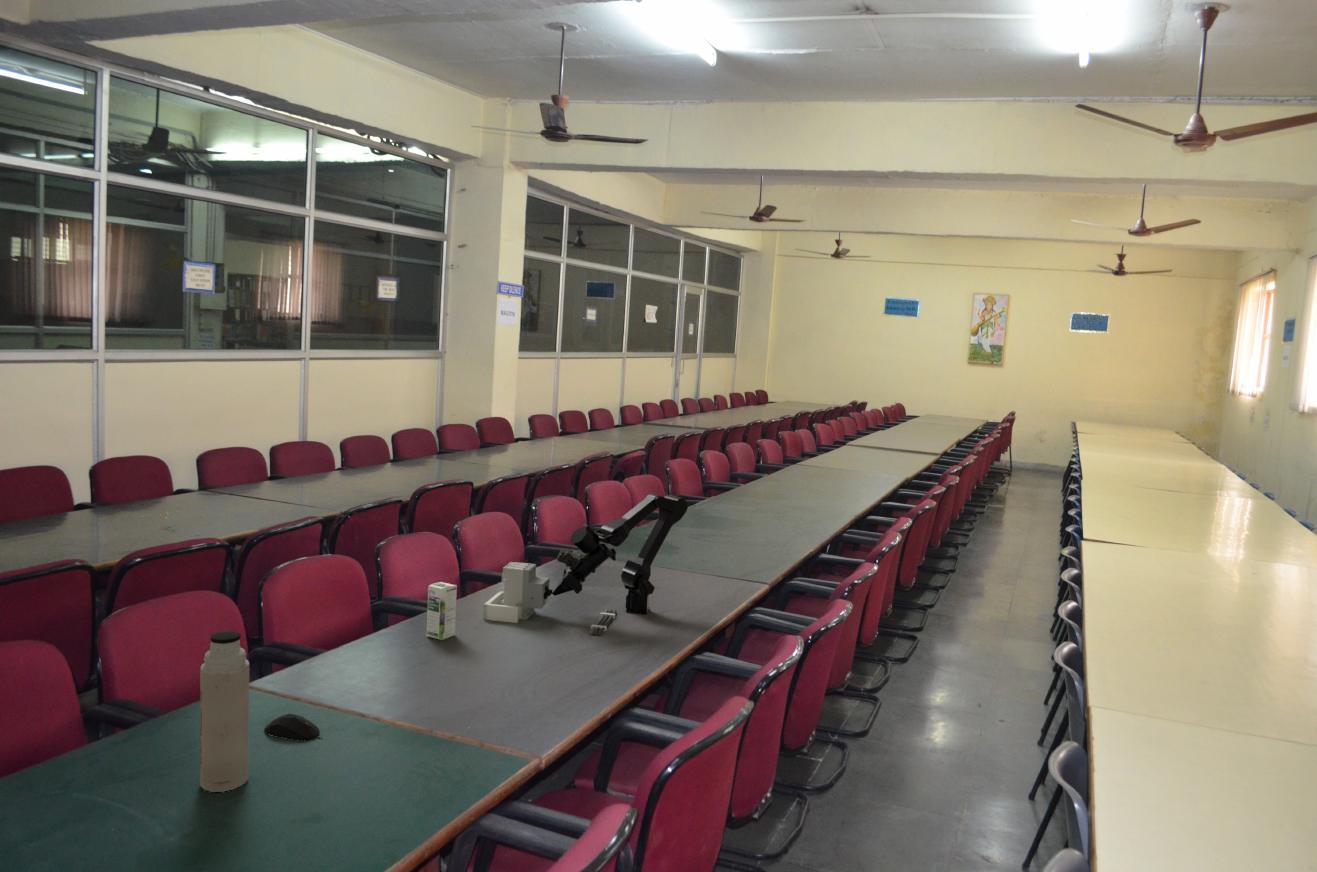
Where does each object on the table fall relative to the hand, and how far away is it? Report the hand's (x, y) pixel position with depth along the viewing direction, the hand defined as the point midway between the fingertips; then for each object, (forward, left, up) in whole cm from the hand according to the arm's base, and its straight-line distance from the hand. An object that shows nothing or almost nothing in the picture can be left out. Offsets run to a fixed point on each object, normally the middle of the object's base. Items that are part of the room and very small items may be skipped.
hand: (553, 594), depth 269 cm
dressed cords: (-16, +1, -7) cm, 17 cm away
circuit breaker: (+7, +2, -7) cm, 10 cm away
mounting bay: (+13, +2, -7) cm, 15 cm away
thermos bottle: (+30, +112, -7) cm, 117 cm away
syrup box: (+24, +26, -7) cm, 37 cm away
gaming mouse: (+29, +91, -8) cm, 96 cm away
